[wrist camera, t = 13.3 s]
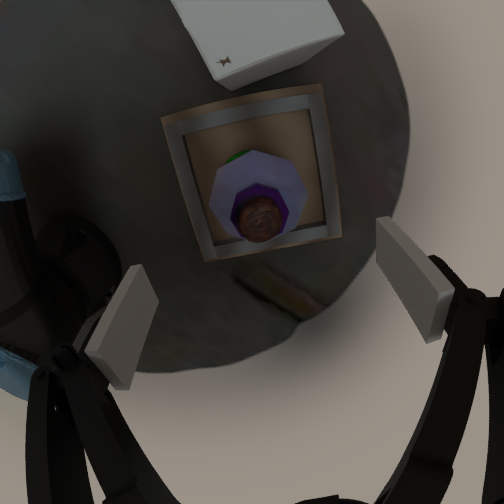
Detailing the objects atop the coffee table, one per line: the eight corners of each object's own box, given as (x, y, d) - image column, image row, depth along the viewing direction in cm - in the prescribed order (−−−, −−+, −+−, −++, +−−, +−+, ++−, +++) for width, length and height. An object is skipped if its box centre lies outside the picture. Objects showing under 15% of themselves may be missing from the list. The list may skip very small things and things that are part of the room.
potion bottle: (250, 122, 28) (250, 135, 17) (313, 173, 30) (345, 215, 20) (200, 185, 31) (175, 233, 21) (262, 229, 34) (267, 293, 23)
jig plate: (206, 254, 38) (203, 267, 35) (165, 116, 29) (157, 118, 26) (337, 229, 36) (344, 241, 33) (317, 84, 27) (324, 82, 24)
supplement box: (306, 64, 26) (351, 37, 13) (230, 93, 28) (213, 86, 15) (272, -3, 22) (287, -67, 9) (196, 27, 24) (155, -22, 11)
